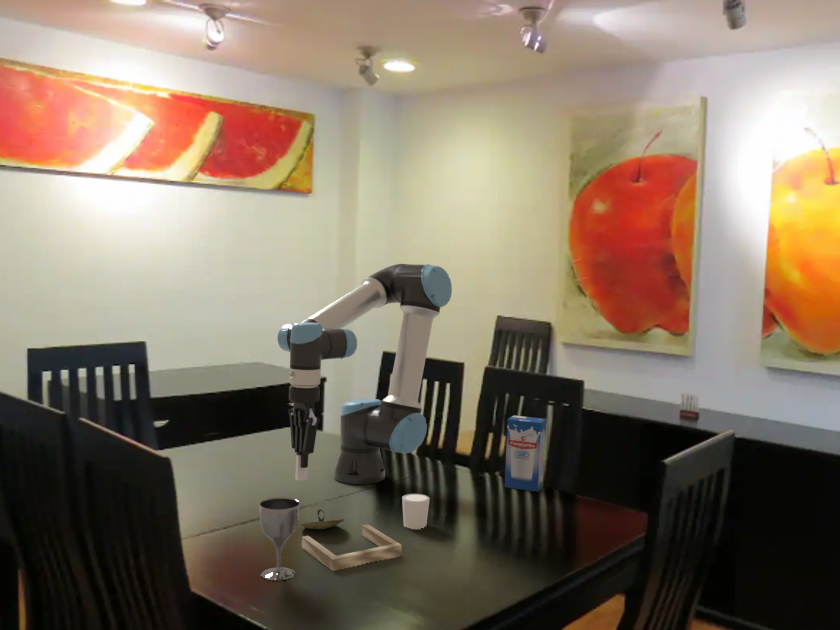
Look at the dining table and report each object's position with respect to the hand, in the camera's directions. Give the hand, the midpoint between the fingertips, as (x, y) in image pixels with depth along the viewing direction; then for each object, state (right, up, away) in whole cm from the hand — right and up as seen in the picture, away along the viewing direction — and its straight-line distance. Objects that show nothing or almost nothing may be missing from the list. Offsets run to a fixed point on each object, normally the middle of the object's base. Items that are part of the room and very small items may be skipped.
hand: (301, 479), depth 195 cm
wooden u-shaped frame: (+14, -12, -20) cm, 27 cm away
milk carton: (+60, -9, +34) cm, 69 cm away
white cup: (+28, -11, -1) cm, 30 cm away
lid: (+6, -11, -7) cm, 15 cm away
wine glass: (0, -13, -33) cm, 36 cm away
